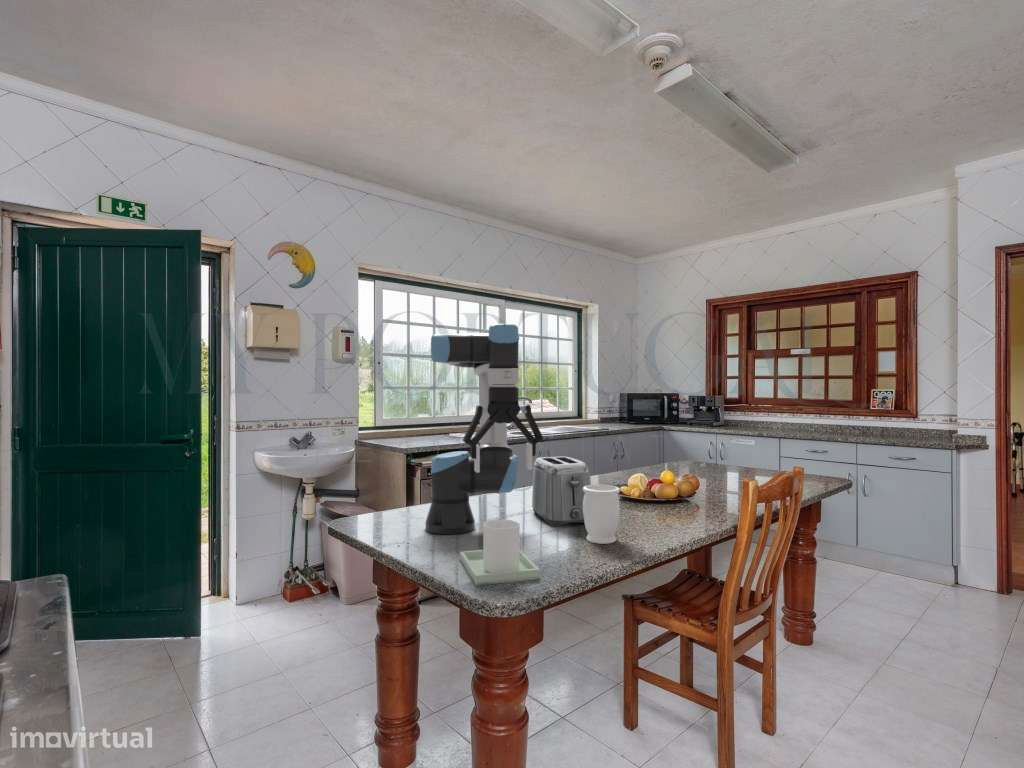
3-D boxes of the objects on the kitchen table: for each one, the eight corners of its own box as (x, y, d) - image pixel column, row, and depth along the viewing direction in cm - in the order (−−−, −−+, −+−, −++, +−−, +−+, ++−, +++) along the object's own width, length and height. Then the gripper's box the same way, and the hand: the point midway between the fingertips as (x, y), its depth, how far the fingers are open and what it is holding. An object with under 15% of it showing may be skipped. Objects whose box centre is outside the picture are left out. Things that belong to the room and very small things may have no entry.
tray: (460, 560, 137) (460, 551, 137) (516, 555, 141) (516, 546, 141) (475, 585, 120) (475, 576, 120) (540, 578, 124) (540, 569, 124)
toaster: (549, 529, 166) (549, 467, 166) (524, 508, 195) (524, 455, 195) (600, 526, 170) (600, 465, 170) (569, 505, 198) (568, 453, 198)
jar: (625, 544, 150) (625, 490, 150) (589, 546, 148) (589, 491, 148) (612, 534, 161) (612, 483, 161) (578, 535, 159) (578, 484, 159)
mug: (504, 557, 138) (504, 514, 138) (525, 572, 127) (525, 526, 127) (472, 561, 134) (472, 518, 134) (491, 577, 123) (492, 530, 123)
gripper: (456, 386, 129) (457, 475, 130) (555, 386, 136) (555, 470, 136) (451, 385, 136) (451, 469, 137) (545, 385, 143) (545, 465, 144)
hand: (503, 470), depth 137 cm, fingers open, 13 cm apart
